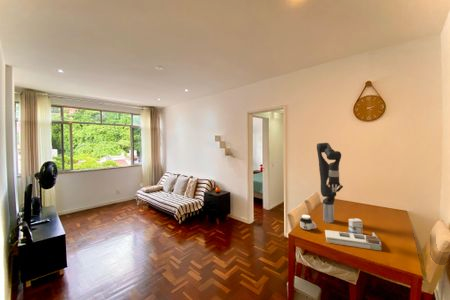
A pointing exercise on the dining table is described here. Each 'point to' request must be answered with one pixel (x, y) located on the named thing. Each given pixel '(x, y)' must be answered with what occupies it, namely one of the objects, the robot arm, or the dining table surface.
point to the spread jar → (307, 223)
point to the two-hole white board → (351, 239)
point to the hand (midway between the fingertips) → (334, 196)
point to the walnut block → (371, 239)
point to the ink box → (355, 226)
